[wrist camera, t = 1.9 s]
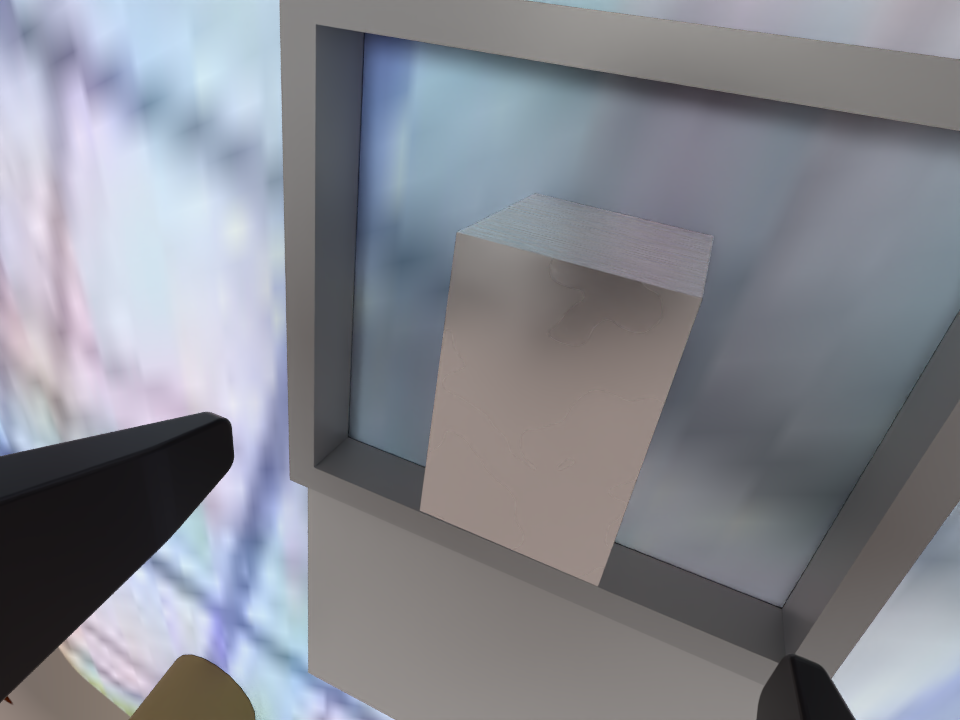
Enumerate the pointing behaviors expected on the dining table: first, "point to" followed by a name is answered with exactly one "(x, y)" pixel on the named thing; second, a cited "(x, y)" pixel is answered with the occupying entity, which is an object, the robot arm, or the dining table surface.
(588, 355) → the block
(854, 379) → the dining table surface
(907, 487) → the gray rectangular frame
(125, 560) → the robot arm
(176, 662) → the brown tapered mill
